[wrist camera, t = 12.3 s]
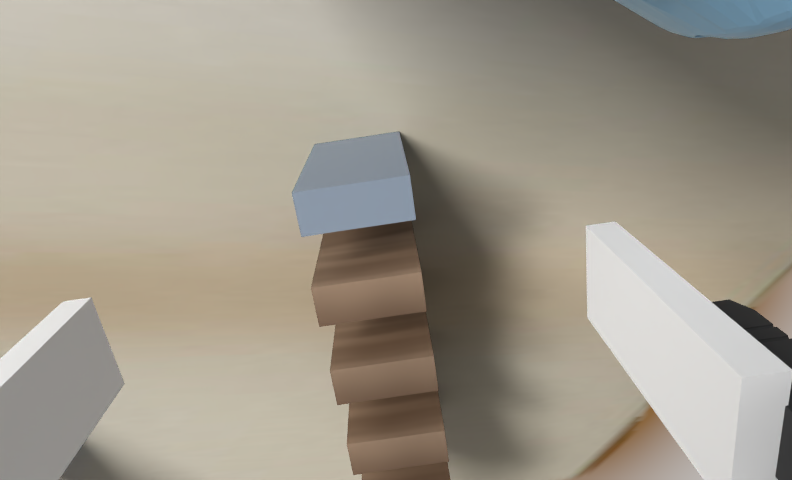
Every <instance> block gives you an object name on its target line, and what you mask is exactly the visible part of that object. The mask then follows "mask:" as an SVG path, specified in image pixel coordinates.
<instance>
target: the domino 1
mask: <svg viewBox="0 0 792 480" xmlns="http://www.w3.org/2000/svg"><path fill="white" fill-rule="evenodd" d="M292 196H293V201H294V205H295V210H296V214H297V219H298V223H299V228H300V232H301V237H304V236H311V235H317V234H324V233H331V232H337V231H344V230H351V229H358V228H364V227H371V226H378V225H385V224H391V223H398V222H405V221H411V220H416V215H415V208H414V201H413V194H412V186H411V179H410V173H409V169H408V165H407V161H406V157H405V153H404V149H403V145H402V141H401V137H400V133H399V132H392V133H386V134H379V135H373V136H366V137H359V138H353V139H346V140H340V141H333V142H326V143H320V144H314V147H313V149H312V151H311V153H310V155H309V157H308V159H307V161H306V164H305V166H304V168H303V170H302V172H301V174H300V176H299V178H298V181H297V183H296V185H295V187H294V189H293V191H292Z"/></svg>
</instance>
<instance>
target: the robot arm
mask: <svg viewBox="0 0 792 480" xmlns="http://www.w3.org/2000/svg"><path fill="white" fill-rule="evenodd" d="M614 1H616V2H618V3H619V4H621V5H623V6H625V7H626V8H628V9H630V10H631V11H633V12H635V13H636V14H638V15H640V16H642V17H643V18H645V19H647V20H648V21H650V22H652V23H653V24H655V25H657V26H658V27H660V28H662V29H664V30H667V31H669V32H672V33H675V34H678V35H682V36H686V37H689V38H703V37H716V38H722V39H732V38H736V39H745V38H754V37H758V36H763V35H768V34H773V33H777V32H782V31H787V30H790V29H792V0H614ZM586 260H587V318H588V319H589V321H590V322H591V323H592V325H593V326H594V328H595V329H596V330H597V332H598V333H599V335H600V336H601V337H602V339H603V340H604V341H605V343H606V344H607V346H608V347H609V348H610V350H611V351H612V353H613V354H614V355H615V357H616V358H617V360H618V361H619V362H620V364H621V365H622V367H623V368H624V369H625V371H626V372H627V374H628V375H629V376H630V378H631V379H632V381H633V382H634V383H635V385H636V386H637V388H638V389H639V390H640V392H641V393H642V395H643V396H644V397H645V399H646V400H647V402H648V403H649V404H650V406H651V407H652V408H653V410H654V411H655V413H656V414H657V416H658V417H659V418H660V420H661V421H662V422H663V424H664V425H665V427H666V428H667V429H668V431H669V432H670V434H671V435H672V436H673V438H674V439H675V441H676V442H677V443H678V445H679V446H680V448H681V449H682V450H683V452H684V453H685V455H686V456H687V457H688V459H689V460H690V462H691V463H692V464H693V466H694V467H695V468H696V470H697V471H698V473H699V474H700V475H701V477H702V478H703V480H777V479H778V480H792V339H789V338H788V335H786V334H785V333H784V332H783V331H781V330H780V329H779V328H777V327H773V324H772V323H771V322H769V321H768V320H767V319H765V318H764V317H763V316H762V315H760V314H759V313H758V312H756V311H755V310H753V309H751V308H748V307H746V306H743V305H741V304H739V303H736V302H734V301H731V300H723V301H716V302H711V301H710V300H708V299H707V298H706V297H705V296H704V295H703V294H701V293H700V292H699V291H698V290H697V289H695V288H694V287H693V286H692V285H691V284H689V283H688V282H687V281H686V280H685V279H683V278H682V277H681V276H680V275H679V274H677V273H676V272H675V271H674V270H673V269H671V268H670V267H669V266H668V265H667V264H666V263H664V262H663V261H662V260H661V259H660V258H658V257H657V256H656V255H655V254H654V253H652V252H651V251H650V250H649V249H648V248H646V247H645V246H644V245H643V244H642V243H640V242H639V241H638V240H637V239H636V238H634V237H633V236H632V235H631V234H630V233H629V232H627V231H626V230H625V229H624V228H623V227H621V226H620V225H619V224H618V223H617V222H608V223H601V224H594V225H587V226H586ZM124 384H125V383H124V381H123V378H122V376H121V373H120V371H119V368H118V365H117V363H116V360H115V358H114V355H113V352H112V350H111V347H110V345H109V342H108V339H107V337H106V334H105V332H104V329H103V327H102V324H101V321H100V319H99V316H98V314H97V311H96V308H95V306H94V303H93V301H92V298H84V299H77V300H71V301H64V302H62V303H61V304H60V305H59V306H57V307H56V308H55V309H54V310H53V311H52V312H51V313H50V314H49V315H48V316H47V317H45V318H44V319H43V320H42V321H41V322H40V323H39V324H38V325H37V326H36V327H34V328H33V329H32V330H31V331H30V332H29V333H28V334H27V335H26V336H25V337H23V338H22V339H21V340H20V341H19V342H18V343H17V344H16V345H15V346H14V347H12V348H11V349H10V350H9V351H8V352H7V353H6V354H5V355H4V356H3V357H1V358H0V480H59V479H60V477H61V476H62V475H63V473H64V472H65V470H66V469H67V467H68V466H69V464H70V463H71V461H72V460H73V458H74V457H75V455H76V454H77V453H78V451H79V450H80V448H81V447H82V445H83V444H84V442H85V441H86V439H87V438H88V436H89V435H90V433H91V432H92V431H93V429H94V428H95V426H96V425H97V423H98V422H99V420H100V419H101V417H102V416H103V414H104V413H105V411H106V410H107V409H108V407H109V406H110V404H111V403H112V401H113V400H114V398H115V397H116V395H117V394H118V392H119V391H120V390H121V388H122V387H123V385H124Z"/></svg>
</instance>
